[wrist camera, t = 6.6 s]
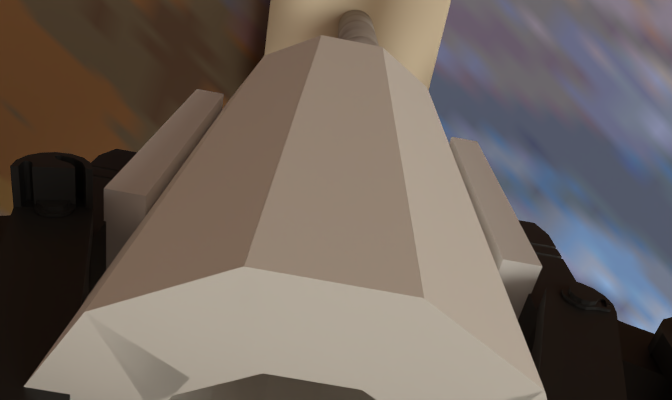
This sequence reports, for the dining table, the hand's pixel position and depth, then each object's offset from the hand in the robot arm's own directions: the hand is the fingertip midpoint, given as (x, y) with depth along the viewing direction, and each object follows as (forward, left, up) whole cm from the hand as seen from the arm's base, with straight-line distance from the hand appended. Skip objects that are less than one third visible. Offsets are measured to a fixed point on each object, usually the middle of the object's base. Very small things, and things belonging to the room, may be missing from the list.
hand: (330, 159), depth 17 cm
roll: (0, 0, -1) cm, 1 cm away
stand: (+1, +1, -20) cm, 20 cm away
